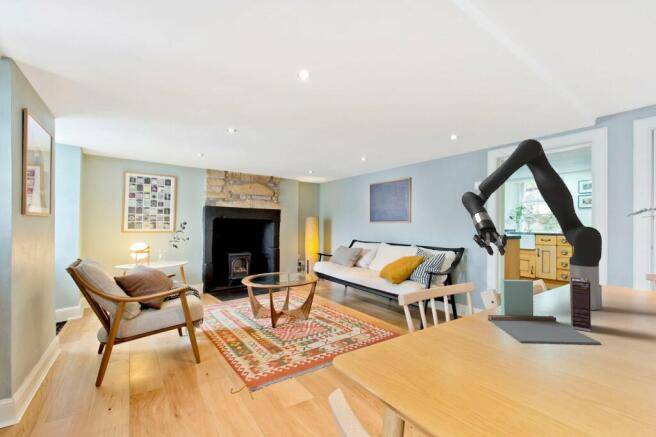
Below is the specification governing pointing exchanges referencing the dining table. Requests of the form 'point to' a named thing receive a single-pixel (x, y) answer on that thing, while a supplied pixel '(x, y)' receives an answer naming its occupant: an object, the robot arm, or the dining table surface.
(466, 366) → the dining table surface
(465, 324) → the dining table surface
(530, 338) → the grey board with ledge
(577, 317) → the supplement box
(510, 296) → the tile
